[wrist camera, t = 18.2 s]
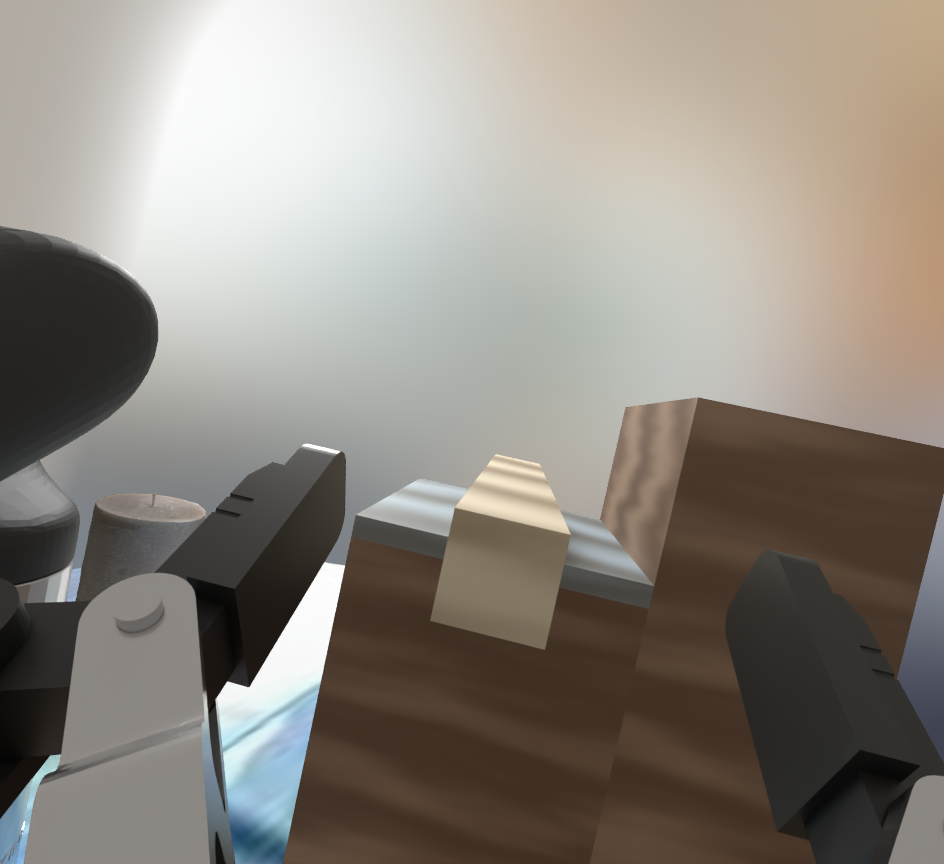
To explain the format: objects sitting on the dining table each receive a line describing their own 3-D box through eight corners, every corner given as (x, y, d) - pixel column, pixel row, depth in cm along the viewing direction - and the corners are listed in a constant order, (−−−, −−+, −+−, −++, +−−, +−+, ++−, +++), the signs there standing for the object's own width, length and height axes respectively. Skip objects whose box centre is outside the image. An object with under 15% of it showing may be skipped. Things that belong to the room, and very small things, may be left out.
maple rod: (545, 649, 13) (570, 534, 13) (430, 620, 14) (454, 507, 13) (530, 507, 35) (539, 464, 35) (486, 497, 36) (495, 454, 35)
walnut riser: (765, 1198, 22) (954, 450, 21) (248, 1027, 24) (393, 334, 23) (666, 884, 37) (773, 438, 36) (353, 794, 39) (443, 369, 38)
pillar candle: (41, 639, 50) (70, 484, 49) (135, 608, 59) (161, 478, 58) (116, 676, 47) (149, 513, 46) (202, 638, 56) (231, 501, 55)
